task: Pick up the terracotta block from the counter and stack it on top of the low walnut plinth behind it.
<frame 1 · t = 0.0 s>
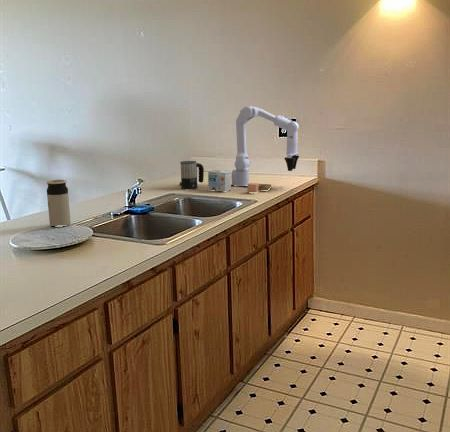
hand: (291, 169, 279), 10 cm above the table, tool pointing down, fingers open, 7 cm apart
milk frother: (187, 187, 288), on the table
block: (253, 193, 270), on the table
travel mug: (60, 225, 207), on the table
plinth: (262, 189, 278), on the table
light bulb box: (219, 191, 277), on the table
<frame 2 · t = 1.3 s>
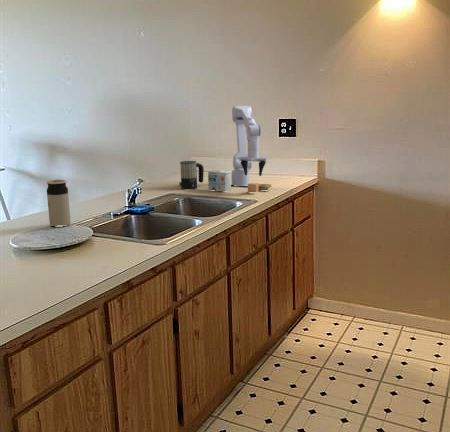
hand: (253, 175, 267), 9 cm above the table, tool pointing down, fingers open, 7 cm apart
nothing on the table moved.
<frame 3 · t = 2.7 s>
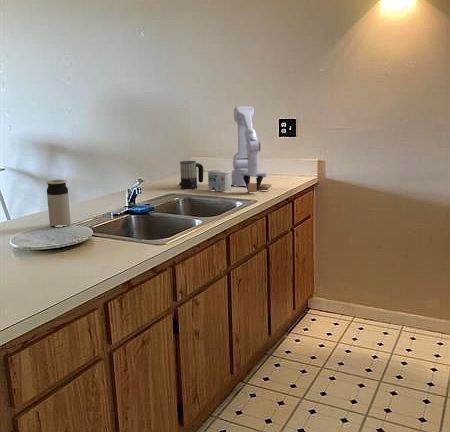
hand: (253, 190, 269), 1 cm above the table, tool pointing down, fingers closed on block, 4 cm apart
block: (253, 193, 270), on the table, touching gripper
everything else where it was.
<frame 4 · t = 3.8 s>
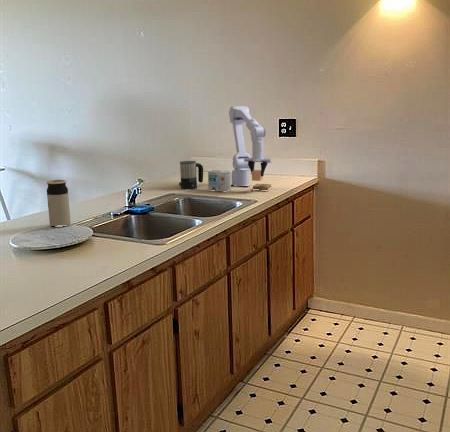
hand: (257, 175, 272), 8 cm above the table, tool pointing down, fingers closed on block, 4 cm apart
block: (257, 179, 272), point 6 cm above the table, touching gripper
everything else where it was.
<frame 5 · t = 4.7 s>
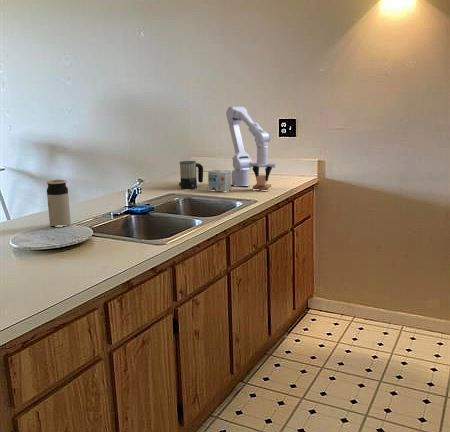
hand: (262, 180, 277), 5 cm above the table, tool pointing down, fingers closed on block, 4 cm apart
block: (261, 184, 277), point 3 cm above the table, touching gripper
everything else where it was.
when the fingers open (5 cm above the table, at t = 5.1 s): block stays where it is, resting on plinth.
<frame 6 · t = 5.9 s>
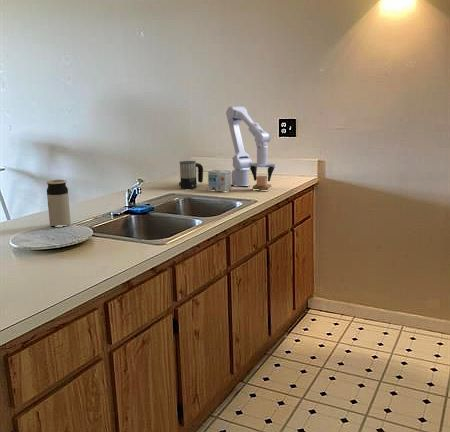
hand: (262, 180, 277), 5 cm above the table, tool pointing down, fingers open, 7 cm apart
block: (261, 185, 277), point 2 cm above the table, touching plinth
everything else where it was.
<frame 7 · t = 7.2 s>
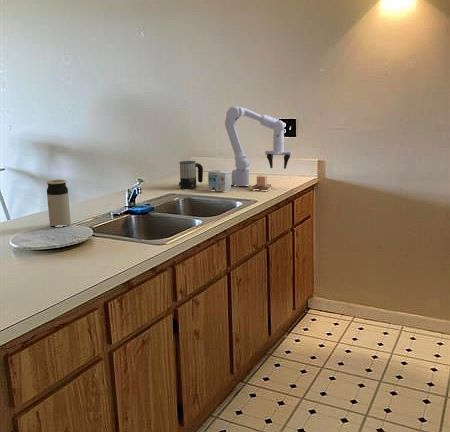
hand: (278, 168, 284), 10 cm above the table, tool pointing down, fingers open, 7 cm apart
nothing on the table moved.
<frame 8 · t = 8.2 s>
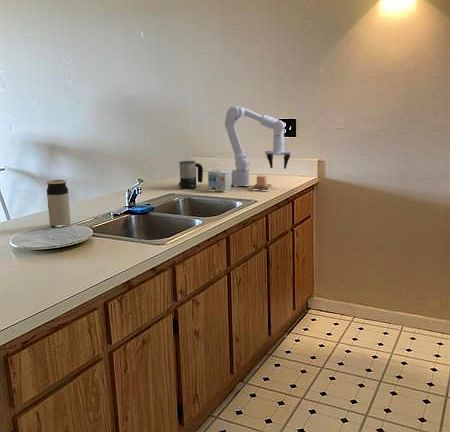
hand: (278, 168, 284), 10 cm above the table, tool pointing down, fingers open, 7 cm apart
nothing on the table moved.
at the end: block 0.5 cm off-centre on the plinth, point 2.5 cm above the plinth's base; block tilted 0°; the gripper is holding nothing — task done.
